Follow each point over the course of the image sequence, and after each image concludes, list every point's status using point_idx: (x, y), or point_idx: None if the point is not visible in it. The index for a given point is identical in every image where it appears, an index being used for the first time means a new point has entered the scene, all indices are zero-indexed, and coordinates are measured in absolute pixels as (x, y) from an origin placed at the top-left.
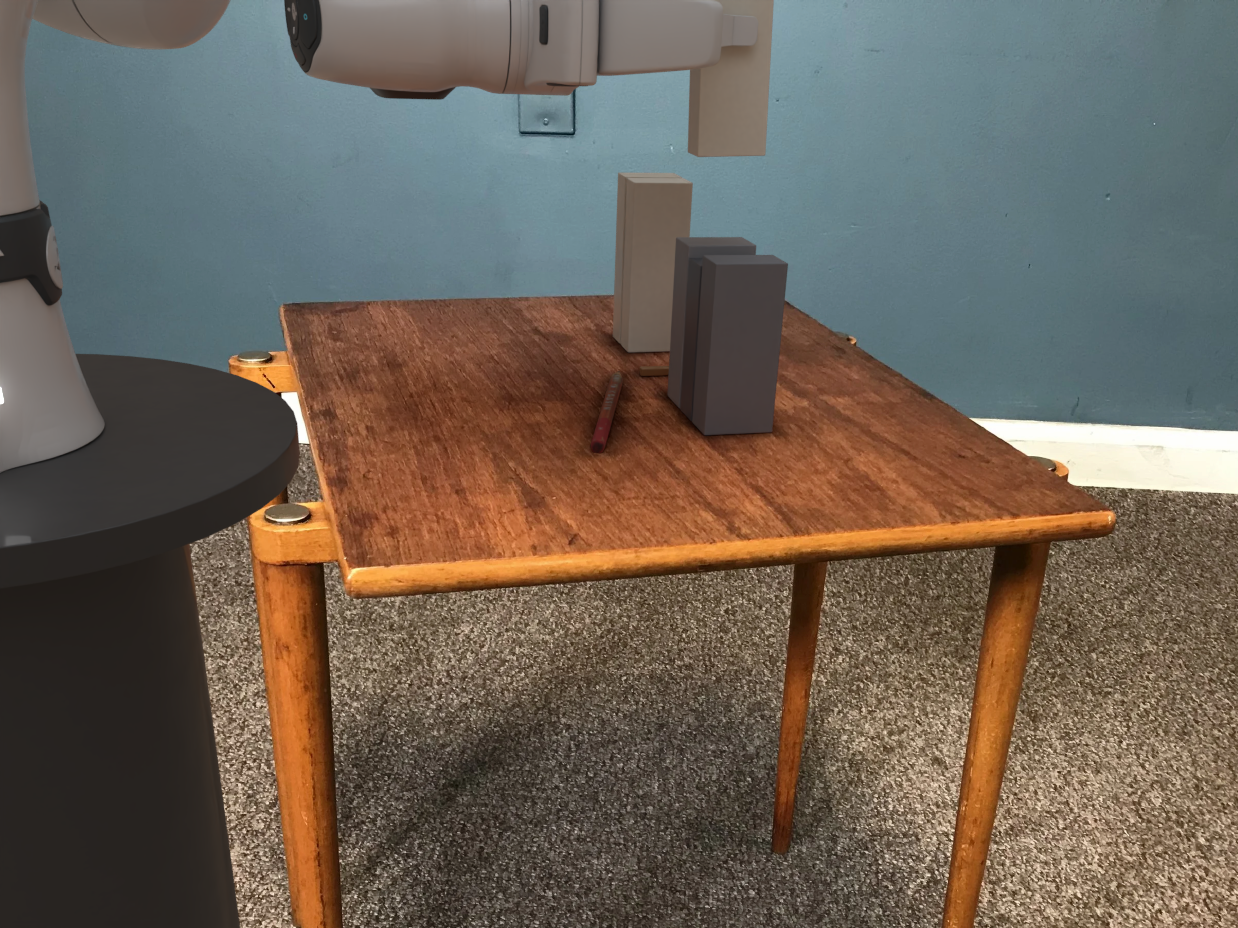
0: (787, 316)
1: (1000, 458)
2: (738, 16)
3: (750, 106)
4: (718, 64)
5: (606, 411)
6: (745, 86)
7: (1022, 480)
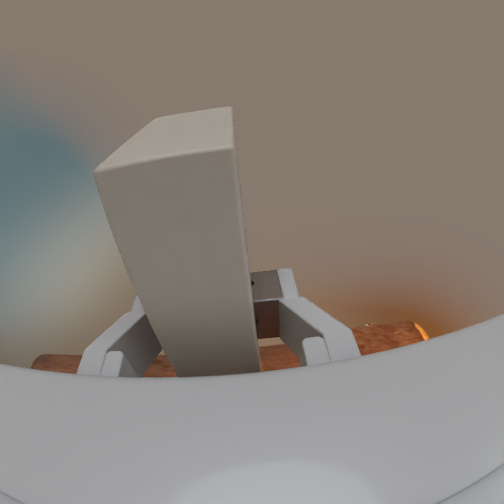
0: (80, 361)
1: (356, 339)
2: (297, 290)
3: (259, 354)
4: (260, 367)
5: None
6: (258, 346)
7: (384, 338)
